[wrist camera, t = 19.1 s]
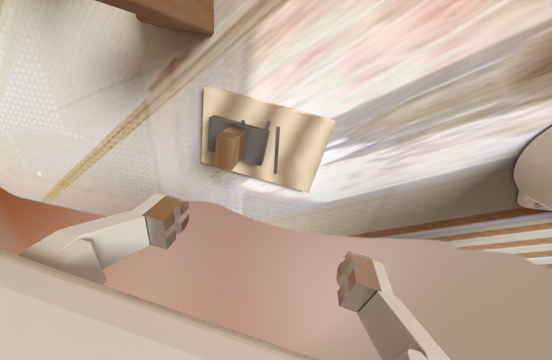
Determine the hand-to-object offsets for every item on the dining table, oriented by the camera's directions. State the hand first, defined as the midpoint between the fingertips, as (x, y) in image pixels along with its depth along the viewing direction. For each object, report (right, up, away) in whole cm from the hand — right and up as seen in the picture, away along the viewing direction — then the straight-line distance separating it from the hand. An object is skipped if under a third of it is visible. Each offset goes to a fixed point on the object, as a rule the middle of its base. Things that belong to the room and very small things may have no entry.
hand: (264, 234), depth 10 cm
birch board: (-2, +10, +26) cm, 28 cm away
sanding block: (-6, +10, +25) cm, 28 cm away
